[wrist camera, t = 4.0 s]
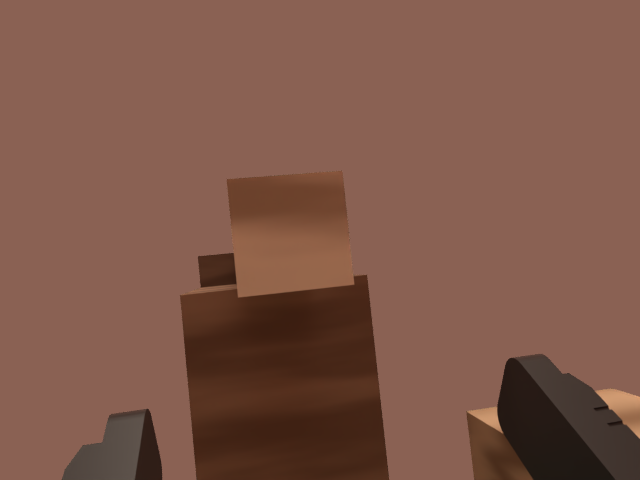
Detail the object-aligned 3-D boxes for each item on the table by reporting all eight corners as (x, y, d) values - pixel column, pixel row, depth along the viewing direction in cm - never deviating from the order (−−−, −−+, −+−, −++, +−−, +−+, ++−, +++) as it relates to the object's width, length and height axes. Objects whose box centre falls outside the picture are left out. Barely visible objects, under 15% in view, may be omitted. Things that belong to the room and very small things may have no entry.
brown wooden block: (354, 284, 18) (342, 170, 18) (237, 297, 17) (226, 179, 17) (288, 278, 41) (283, 229, 42) (238, 283, 41) (234, 234, 41)
